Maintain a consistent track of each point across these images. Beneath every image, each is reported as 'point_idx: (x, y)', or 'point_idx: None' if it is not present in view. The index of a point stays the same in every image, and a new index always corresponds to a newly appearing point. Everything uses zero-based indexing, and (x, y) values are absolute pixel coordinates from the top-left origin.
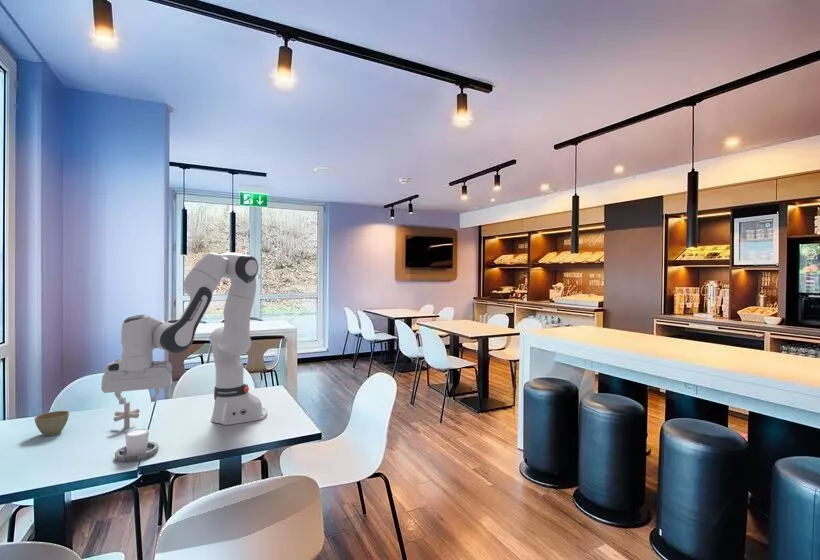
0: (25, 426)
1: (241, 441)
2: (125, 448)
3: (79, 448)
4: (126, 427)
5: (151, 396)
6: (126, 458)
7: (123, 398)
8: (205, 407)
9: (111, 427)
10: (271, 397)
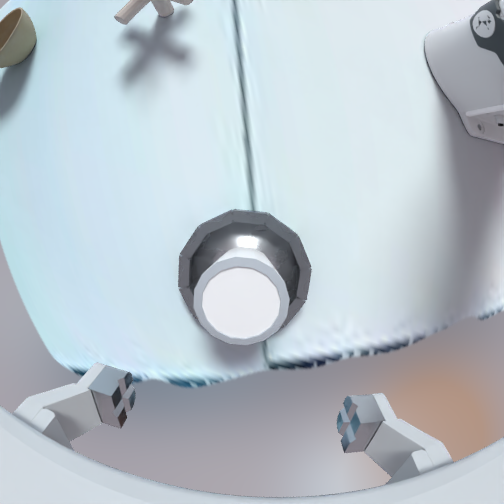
0: None
1: (485, 282)
2: (199, 244)
3: (69, 154)
4: (165, 15)
5: (348, 448)
6: None
7: (104, 407)
8: None
9: None
10: None
